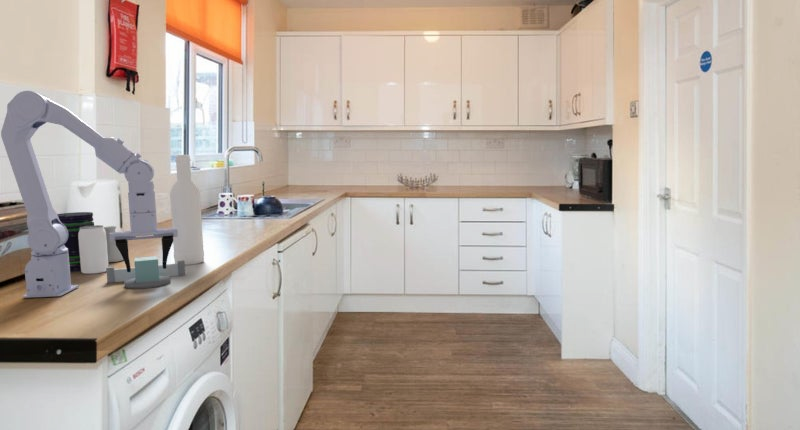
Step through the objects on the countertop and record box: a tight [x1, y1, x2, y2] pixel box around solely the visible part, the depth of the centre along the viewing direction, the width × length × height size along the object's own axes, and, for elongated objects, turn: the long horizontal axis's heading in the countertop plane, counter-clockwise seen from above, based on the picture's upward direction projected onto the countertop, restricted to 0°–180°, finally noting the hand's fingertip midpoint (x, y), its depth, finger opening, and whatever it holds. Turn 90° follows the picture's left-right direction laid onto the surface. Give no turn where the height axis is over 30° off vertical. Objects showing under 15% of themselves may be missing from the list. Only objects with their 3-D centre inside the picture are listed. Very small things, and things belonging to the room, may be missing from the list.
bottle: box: [169, 154, 205, 266], centre depth 168 cm, size 8×8×30 cm
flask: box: [103, 225, 124, 263], centre depth 175 cm, size 7×7×10 cm
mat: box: [123, 275, 172, 290], centre depth 142 cm, size 10×10×1 cm
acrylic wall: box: [106, 260, 186, 284], centre depth 148 cm, size 18×2×4 cm, turn 114°
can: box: [78, 224, 109, 275], centre depth 158 cm, size 6×6×12 cm
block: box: [133, 255, 159, 283], centre depth 142 cm, size 5×5×5 cm
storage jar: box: [57, 211, 95, 273], centre depth 163 cm, size 10×10×15 cm
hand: (146, 269), depth 142 cm, fingers open, 7 cm apart
